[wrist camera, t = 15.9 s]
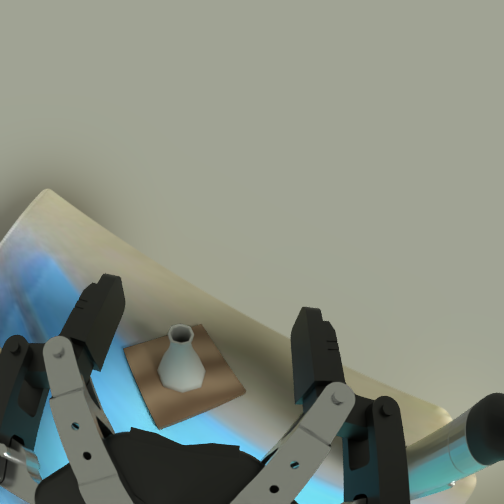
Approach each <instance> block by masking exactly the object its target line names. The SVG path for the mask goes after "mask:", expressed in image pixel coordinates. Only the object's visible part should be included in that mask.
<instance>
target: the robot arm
mask: <svg viewBox="0 0 504 504" xmlns="http://www.w3.org/2000/svg"><path fill="white" fill-rule="evenodd" d="M124 309H125V297H124V292H123V287H122V281H121V278H120V277H119V276H115V275H110V274H103V275H102V276H101V278H100V280H99V282H98V283H97V284H96V283H92V284H90V285H89V286H88V287H87V288H86V289H84V291H83V292H82V294H81V296H80V298H79V301H77V303H76V305H75V308H73V310H72V312H71V314H70V316H69V317H68V319H67V321H66V323H65V325H64V327H63V329H62V331H61V333H60V334H59V336H55V337H52V338H51V339H49V340H48V341H47V342H46V343H43V344H41V343H28V342H27V340H26V339H25V338H24V337H23V336H21V335H14V336H11V337H10V338H8V339H7V341H6V342H5V344H4V346H3V348H2V350H1V352H0V486H1V487H3V488H5V489H6V490H8V491H10V492H11V493H13V494H14V495H16V496H18V497H19V498H21V499H23V500H25V501H26V502H28V503H30V504H298V503H297V502H296V501H295V500H294V499H295V497H296V496H297V495H298V494H299V492H300V491H301V490H302V489H303V487H304V486H305V485H306V484H307V482H308V481H309V480H310V478H311V477H312V476H313V474H314V473H315V472H316V470H317V469H318V468H319V466H320V465H321V463H322V462H323V460H324V459H325V458H326V456H327V455H328V453H329V451H330V449H331V442H332V440H333V439H334V437H335V436H340V437H342V442H343V469H344V502H343V503H341V504H410V500H414V499H418V498H421V497H425V496H428V495H431V494H434V493H438V492H441V491H444V490H446V489H449V488H452V487H453V486H454V485H455V483H456V481H458V480H460V479H462V478H465V477H467V476H469V475H472V474H474V473H476V472H478V471H480V470H482V469H484V468H486V467H488V466H490V465H492V464H494V463H496V462H498V461H501V460H504V394H502V393H493V394H490V395H488V396H486V397H485V398H483V399H482V400H480V401H479V402H478V403H477V404H475V405H474V406H473V407H471V408H470V409H469V410H467V411H466V412H464V413H463V414H462V415H460V416H459V417H457V418H456V419H454V420H453V421H451V422H450V423H448V424H447V425H445V426H443V427H442V428H440V429H439V430H437V431H435V432H434V433H432V434H430V435H428V436H427V437H425V438H423V439H421V440H420V441H418V442H416V443H414V444H412V445H410V446H408V447H405V439H404V432H403V426H402V420H401V414H400V408H399V406H398V404H397V402H396V401H395V400H394V399H393V398H391V397H388V396H381V397H379V398H377V399H376V400H371V399H368V398H364V397H361V396H358V395H356V394H354V392H353V390H352V389H351V388H350V387H349V386H348V385H346V382H345V379H344V373H343V368H342V362H341V357H340V352H339V347H338V343H337V337H336V333H335V330H334V329H333V327H332V325H331V324H330V322H329V321H323V319H322V314H321V310H320V309H318V308H310V307H302V309H301V311H300V313H299V315H298V317H297V319H296V321H295V324H294V326H293V328H292V332H291V351H292V365H293V380H294V396H295V404H303V412H302V413H301V414H300V416H299V417H298V418H297V419H296V421H295V422H294V423H293V425H292V426H291V427H290V428H289V429H288V431H287V432H286V433H285V434H284V436H283V437H282V438H281V439H280V440H279V441H278V443H277V444H276V445H275V446H274V447H273V448H272V449H271V450H270V451H269V452H268V453H267V454H266V455H265V456H264V457H263V459H262V460H261V461H259V460H258V459H256V458H255V457H253V456H252V455H250V454H248V453H245V452H243V451H240V450H239V447H240V446H236V445H225V444H216V443H208V444H197V445H182V444H179V443H177V442H174V441H172V440H170V439H168V438H166V437H163V436H161V435H159V434H157V433H153V432H149V431H145V430H141V429H137V428H133V427H131V430H130V432H120V433H116V434H115V432H114V430H113V428H112V426H111V424H110V422H109V420H108V419H107V417H106V415H105V413H104V411H103V409H102V406H101V404H100V401H99V399H98V396H97V393H96V391H95V388H94V385H93V382H92V379H91V377H90V375H91V373H92V370H97V371H100V372H101V369H102V366H103V363H104V360H105V358H106V355H107V352H108V350H109V347H110V345H111V342H112V339H113V337H114V334H115V332H116V329H117V327H118V325H119V322H120V320H121V317H122V315H123V312H124ZM49 389H51V393H52V398H50V399H49V403H50V407H51V411H52V414H53V418H54V421H55V424H56V427H57V430H58V433H59V436H60V439H61V442H62V445H63V447H64V450H65V453H66V455H67V458H68V460H69V462H70V463H68V464H67V465H65V466H64V467H62V468H61V469H59V470H57V471H56V472H54V473H53V474H51V475H50V476H48V477H47V478H45V479H43V480H42V478H41V476H40V474H39V469H40V465H39V462H38V459H37V456H36V455H35V453H34V452H33V451H34V446H35V441H36V437H37V432H38V428H39V424H40V420H41V417H42V413H43V409H44V406H45V402H46V399H47V396H48V392H49Z"/></svg>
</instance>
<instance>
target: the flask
mask: <svg viewBox="0 0 504 504" xmlns="http://www.w3.org/2000/svg"><path fill="white" fill-rule="evenodd" d="M168 337H169V339H170V346H169V348H168V350H167V351H166V352H165V353H164V355H163V357H162V360H161V362H160V365H159V367H158V369H157V371H158V374H159V377H160V380H161V382H162V385H163V387H166V388H169V389H172V390H175V391H178V392H181V393H183V392H187V391H190V390H194V389H197V388H200V387H201V386H202V382H203V379H204V376H205V372H206V371H205V369H204V367H203V365H202V362H201V360H200V358H199V356H198V355H197V353H196V352H195V351H194V349H193V347H192V344H191V342H192V340H193V337H194V333H193V331H192V329H191V326H188V325H184V324H176V325H172V326H171V327H170V329H169V332H168Z"/></svg>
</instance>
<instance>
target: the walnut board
mask: <svg viewBox="0 0 504 504" xmlns="http://www.w3.org/2000/svg"><path fill="white" fill-rule="evenodd" d="M191 329H192V331H193V333H194V337H193V340H192V342H191V344H192V347H193V349H194V351H195V352H196V353H197V355H198V356H199V358H200V360H201V362H202V365H203V367H204V369H205V371H206V372H205V376H204V379H203V382H202V386H201V387H200V388H197V389H194V390H190V391H187V392H183V393H181V392H178V391H175V390H172V389H169V388H166V387H163V385H162V382H161V380H160V377H159V374H158V371H157V369H158V367H159V365H160V362H161V360H162V357H163V355H164V353H165V352H166V351H167V350H168V348H169V346H170V339H169V337H168V335H166V336H163V337H160V338H157V339H154V340H150V341H147V342H144V343H140V344H137V345H134V346H130V347H127V348H123V350H124V353H125V355H126V358H127V361H128V363H129V366H130V368H131V371H132V373H133V376H134V378H135V380H136V383H137V385H138V387H139V390H140V392H141V394H142V396H143V399H144V401H145V403H146V405H147V407H148V409H149V411H150V413H151V415H152V417H153V419H154V421H155V423H156V425H157V427H158V429H159V430H160V429H163V428H166V427H168V426H171V425H174V424H176V423H179V422H182V421H184V420H187V419H189V418H192V417H194V416H196V415H199V414H201V413H204V412H206V411H208V410H211V409H213V408H215V407H217V406H220V405H222V404H224V403H226V402H228V401H231V400H233V399H235V398H237V397H239V396H241V395H243V394H245V393H246V390H245V389H244V387H243V386H242V384H241V383H240V381H239V380H238V379H237V377H236V376H235V374H234V373H233V371H232V370H231V368H230V367H229V366H228V364H227V363H226V361H225V360H224V358H223V357H222V355H221V354H220V352H219V351H218V349H217V347H216V346H215V344H214V343H213V341H212V340H211V338H210V337H209V335H208V333H207V332H206V330H205V329H204V327H203V326H202V324H200V325H197V326H194V327H191Z"/></svg>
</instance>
